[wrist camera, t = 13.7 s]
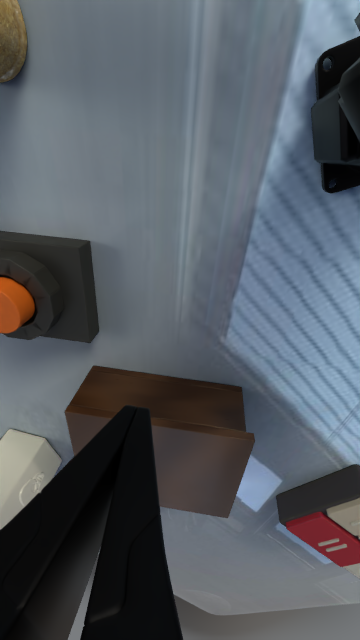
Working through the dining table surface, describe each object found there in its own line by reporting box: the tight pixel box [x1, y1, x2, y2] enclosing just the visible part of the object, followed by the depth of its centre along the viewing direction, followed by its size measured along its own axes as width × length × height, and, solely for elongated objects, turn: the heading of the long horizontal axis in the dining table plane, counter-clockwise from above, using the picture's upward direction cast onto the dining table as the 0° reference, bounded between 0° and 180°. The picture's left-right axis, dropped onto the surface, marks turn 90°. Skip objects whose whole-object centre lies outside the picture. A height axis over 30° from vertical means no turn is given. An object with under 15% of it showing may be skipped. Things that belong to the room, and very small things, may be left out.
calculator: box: [276, 465, 360, 579], centre depth 31 cm, size 11×4×15 cm
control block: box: [0, 231, 99, 343], centre depth 21 cm, size 10×8×4 cm
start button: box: [0, 277, 35, 333], centre depth 19 cm, size 4×4×2 cm
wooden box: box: [69, 366, 246, 432], centre depth 27 cm, size 14×12×5 cm
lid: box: [65, 405, 255, 518], centre depth 24 cm, size 15×12×1 cm
